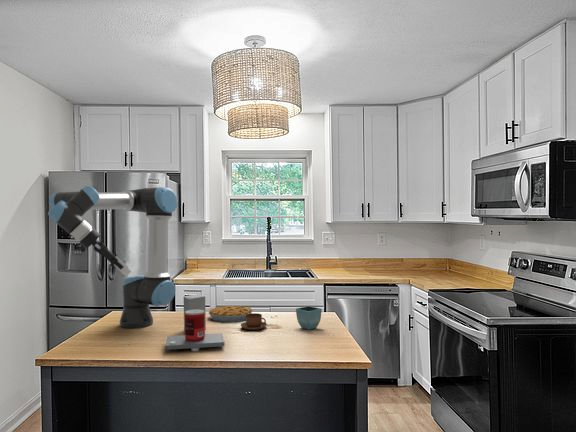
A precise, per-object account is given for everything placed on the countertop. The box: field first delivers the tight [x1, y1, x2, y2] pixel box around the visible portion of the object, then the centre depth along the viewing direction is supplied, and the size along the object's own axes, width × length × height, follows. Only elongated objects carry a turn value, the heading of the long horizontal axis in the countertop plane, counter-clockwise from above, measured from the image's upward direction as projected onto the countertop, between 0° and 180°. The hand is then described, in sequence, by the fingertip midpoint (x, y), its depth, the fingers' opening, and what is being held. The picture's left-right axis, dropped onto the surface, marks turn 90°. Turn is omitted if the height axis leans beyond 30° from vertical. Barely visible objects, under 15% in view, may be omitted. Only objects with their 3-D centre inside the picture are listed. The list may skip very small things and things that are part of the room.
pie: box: [208, 305, 253, 323], centre depth 238 cm, size 22×22×5 cm
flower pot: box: [295, 305, 323, 330], centre depth 215 cm, size 9×9×9 cm
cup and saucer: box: [240, 312, 268, 331], centre depth 216 cm, size 12×12×6 cm
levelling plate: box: [165, 332, 226, 352], centre depth 186 cm, size 14×22×3 cm, turn 102°
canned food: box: [184, 309, 206, 342], centre depth 186 cm, size 8×8×11 cm
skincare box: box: [183, 293, 207, 331], centre depth 212 cm, size 8×7×16 cm
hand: (127, 271), depth 187 cm, fingers open, 13 cm apart
